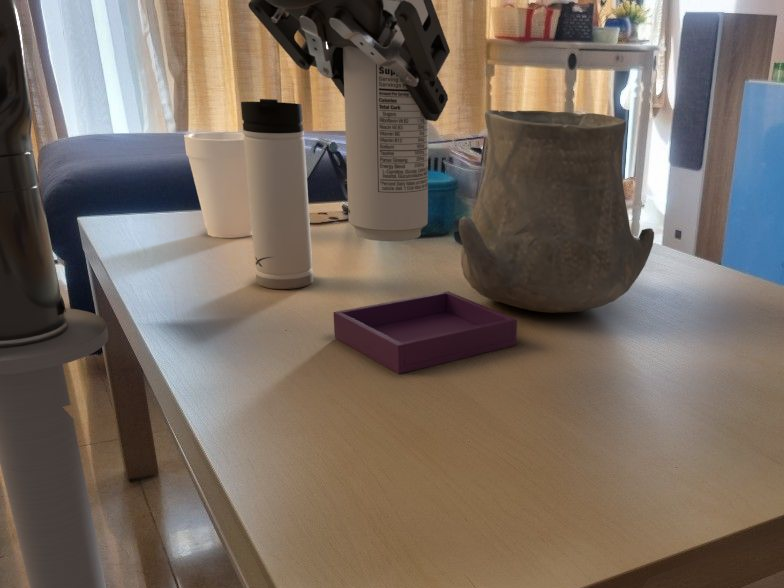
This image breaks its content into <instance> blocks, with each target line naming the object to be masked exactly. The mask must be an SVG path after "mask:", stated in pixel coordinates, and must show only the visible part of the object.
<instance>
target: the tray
mask: <svg viewBox="0 0 784 588" xmlns="http://www.w3.org/2000/svg"><path fill="white" fill-rule="evenodd" d="M332 313H333V314H332V315H333V330H334V331H333V332H334V339H336V340H338V341H339V342H341V343H343V344H345V345H347V346H348V347H350V348H351V349H353V350H356V351H358V352H359V353H361V354H362V355H364V356H366V357H367V358H369V359H372V360H373V361H375V362H376V363H378V364H380V365H382V366H384V367H385V368H388V370H391V371H393V372H395V373H396V374H398V375H400V374H404V373H408V372H412V371H417V370H421V369H424V368H428V367H433V366H436V365H437V366H438V365H440V364H446V363H449V362H453V361H457V360H461V359H465V358H469V357H474V356H478V355H481V354H486V353H489V352H494V351H498V350H502V349H505V348H510V347H513V346H517V336H518V335H517V331H518V319H517V318H514V317H513V316H509V315H507V314H505V313H503V312H500V311H498V310H495V309H492V308H490V307H488V306H485V305H483V304H481V303H479V302H476V301H473V300H471V299H468V298H466V297H463V296H460V295H459V294H456V293H453V292H451V291H449V290H447V291H442V292H437V293H432V294H431V293H430V294H425V295H420V296H415V297H410V298H403V299H398V300H392V301H386V302H381V303H375V304H371V305H365V306H359V307H353V308H348V309H343V310H337V311H333V312H332Z"/></svg>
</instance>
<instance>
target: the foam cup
mask: <svg viewBox="0 0 784 588" xmlns="http://www.w3.org/2000/svg"><path fill="white" fill-rule="evenodd" d="M244 136H245V135H244V134H243V132H234V131H233V132H231V131H228V132H227V131H204V132H203V131H202V132H190V133H186V134H183V137H184V138H183V139H184V148H185V156H187V157H188V162H189V165H190V170H191V173H192V174H191V175H192V177H193V181H194V185H195V189H196V193H197V197H198V201H199V205H200V209H201V213H202V218H203V221H204V226H205V229H206V231H207V236H210V237H213V238H221V239H235V238H245V237H249V236H252V227H251V216H250V205H249V194H248V183H247V172H246V161H245V150H244V139H243V138H244Z"/></svg>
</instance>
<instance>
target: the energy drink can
mask: <svg viewBox="0 0 784 588" xmlns="http://www.w3.org/2000/svg"><path fill="white" fill-rule="evenodd" d="M389 34H390V28H389V26H388V25H387V23H386V26H385V29H384V31H383V32H382V34H381V36H380V37H379V39H378V41H377V43H378V44H379V45H380V46H383V44H384V42H385V41H386V39H387V37H388V36H389ZM398 53H399V56H400V57H401V58H402V59H403V60H404V61H405V62H406V63H407V64H408V63H409V61H410V59H411V58H412V56H411V55H410V54H409V53H408V52H407V51H406V50H405V49H404V48H403V47H402V46H401V47H400V49H399V52H398ZM343 66H344V97H345V98H344V97H343V98H344V118H345V119H344V121H345V122H344V125H345V127H344V128H345V152H346V153H345V155H346V182H347V183H346V184H347V185H346V187H347V213H348V223H349V224H350V225H352V226H353V227H354V228H355V234H356V236H357V237H359V238H362V239H365V240H369V241H376V242H377V241H378V242H405V241H412V240H416V239H418V238H419V237H421V234H422V233H421V232H422V229H423V228H424V227H426V226H427V225H428V223H429V222H428V220H429V219H428V217H429V215H428V213H429V212H428V211H429V205H428V204H429V202H428V201H429V120H426V119H425V118H424V116H423V114H422V112H421V111H420V109H419V107H418V106H417V104H416V103H415V101H414V99H413V98H412V96H411V94H410V93H409V91H408V89H407V88H406V86H405V85H406V83H405V82H404V81H403V80H402V79H401V78H400V77H399V76H398V75H396V74H395V73H394V72H393V71H392V70H391V69H390V68H389V67H388V66H382V67H380V66H378V65H377V64H376V63H374V62H373V61H372V60H371V59H370V58H369V57H368V56H367V55H366V54H365V53H364V52H363V51H362V50H361V49H358V48H355V47H352V46H347V47H343Z"/></svg>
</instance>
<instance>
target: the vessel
mask: <svg viewBox="0 0 784 588" xmlns="http://www.w3.org/2000/svg"><path fill="white" fill-rule="evenodd" d="M484 120H485V125H486V132H487V152H486V160H485V170H484V175H483V178H482V181H481V185H480V187H479V192H478V195H477V199H476V202H475V205H474V208H473V211H472V213H471V216H470V217H468V216H465V215H463V216H462V217H461V218H459V222H458V234H459V238H460V240H461V243H462V248H461V252H460V265H461V269H462V274H463V277H464V278H465V280H466V281H467V283H468V284H469V286H470V287H471V288H472V289H473V290H475V291H476V292H477V293H478V294H479V295H480V296H483V297H484V298H487V299H489V300H492V301H496V302H499V303H502V304H504V305H508V306H512V307H515V308H518V309H523V310H527V311H533V312H539V313H540V312H541V313H548V314H549V313H550V314H559V313H560V314H563V313H565V314H566V313H576V312H583V311H588V310H592V309H596V308H600V307H603V306H605V305H608V304H610V303H613V302H615V301H616V300H617V299H619V298H621V297H622V296H623V295H625V294H626V293H628V291H629V290H630V289H631V287H632V286H633V285H634V284H635V282H636V281H637V279H638V277H640V274H641V273H642V271H643V269H644V268H645V266H646V264H647V261H648V260H649V257H650V255H651V251H652V249H653V246H654V240H655V231H654V229H653V228H651V227H650V228H648V227H647V228H644V229H641V231H640V233H639V236H638V237H635V236H634V235H633V233H632V230H631V226H630V220H629V212H628V208H627V207H628V206H627V202H626V196H625V189H624V188H625V187H624V181H623V179H624V178H623V146H624V140H625V134H626V130H627V120H626V119H624V118H619V117H615V116H613V115H606V114H601V113H593V112H592V113H591V112H590V113H589V112H588V113H587V112H586V113H580V114H579V113H575V112H568V111H548V110H516V111H513V110H500V111H499V110H498V109H497V110H495V109H492V110H491V109H490V110H486V111H485V113H484Z"/></svg>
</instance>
